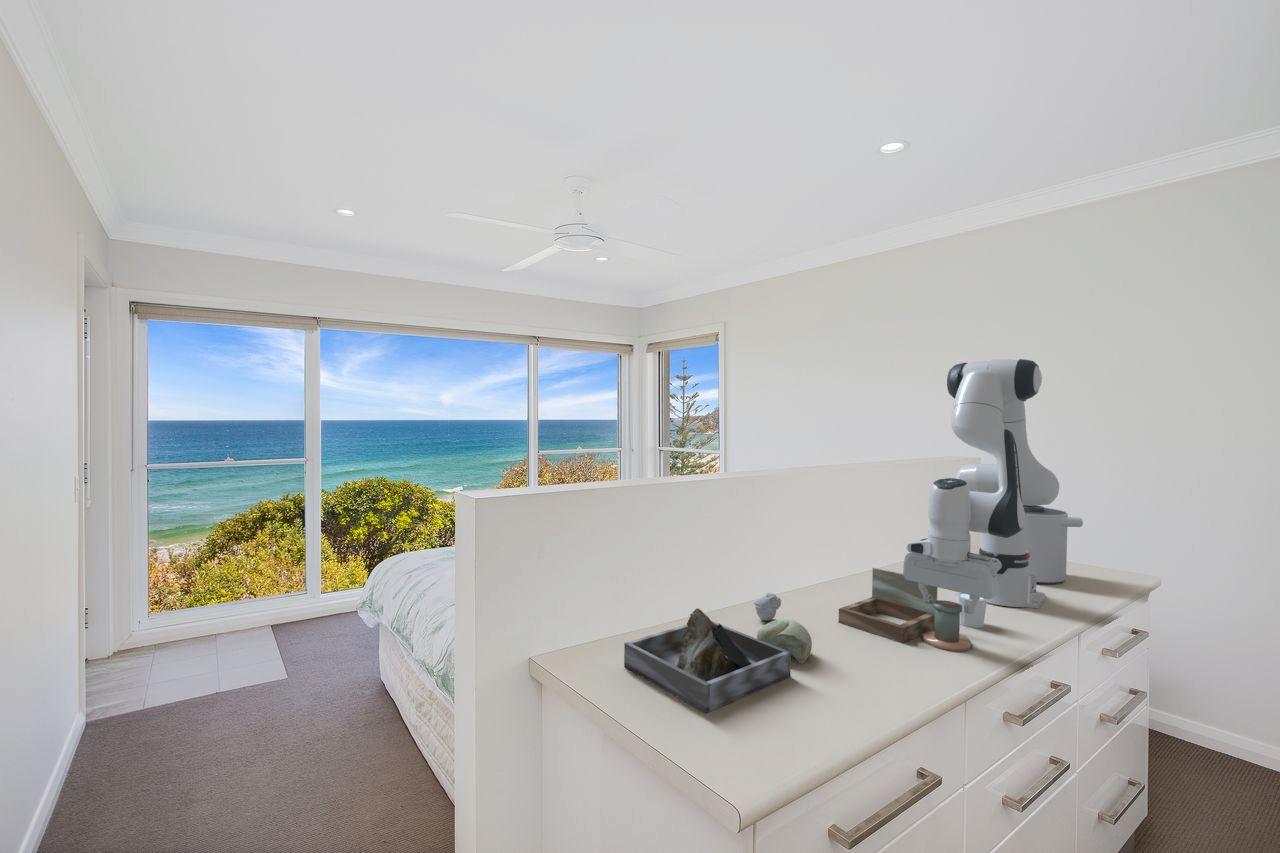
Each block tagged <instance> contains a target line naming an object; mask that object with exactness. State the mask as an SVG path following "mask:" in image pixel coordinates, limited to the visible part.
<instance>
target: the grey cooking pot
mask: <svg viewBox="0 0 1280 853" xmlns="http://www.w3.org/2000/svg"><path fill="white" fill-rule="evenodd" d="M1023 508H1024V513H1025V522H1024V526H1025V528H1026V552H1030V557H1029V559H1028V564H1029V565H1028V568H1029V569H1030V570H1031V571H1032V573H1033V574H1034V575H1035V576H1036V585H1061V584H1063V583H1065V582H1066V580H1067V554H1068V552H1067V551H1068V550H1067V549H1068V528H1081V527H1083V524H1084V521H1083V518H1082V517H1078V516H1077V517H1076V516H1073V517H1072V516H1068V515H1069V513H1068V512H1067V511H1065V510H1062V509H1058V508H1053V507H1045V506H1043V505H1034V506H1028V505H1023Z"/></svg>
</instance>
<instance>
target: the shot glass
mask: <svg viewBox="0 0 1280 853" xmlns="http://www.w3.org/2000/svg"><path fill="white" fill-rule="evenodd" d="M955 596H956V599H955V600H956V603H958V604H960V605H962V612H960V626H961V625H962V626H964V627H969V628H976V629H977V628H979V629H980V628H983V627H984V625H985V617H986V609H987V603H988V602H987V599H985V598H981V597H980V599H979V601H978V602H977V603H976V605H975V606H974V613H973V614H968V613H965V612H964V610H965V609H964V605H966V604H970V603H971V601H972V600H970V599H969V594H964V593H960V592H957V593H956V595H955Z"/></svg>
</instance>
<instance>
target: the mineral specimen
mask: <svg viewBox="0 0 1280 853" xmlns="http://www.w3.org/2000/svg"><path fill="white" fill-rule="evenodd" d="M688 618H689V619H688V620H687V622H686V625H687V626H688V629H687V631H688V633H687V634H686V638H685V643H684V644H683V647H682V648H683V651H682V652H681V655H680V656H679V661H678V664H677V666H676V667H678V668H680V669H682V670H684V671H686V672H688V673H690V674H692V675H694V676H696V677H697V678H699V679H701V680H703V681H705V682H707V681H710V680H712V679H715V678H718V677H720V676H723V675H725V674H728V673H731V672H733V671H736V670H738V669H741V668H743V667H746V666H749V665H751V664H752V663H751V662H750V661H749V660H748V659H747V657H746V656H745V655H744V654H743V652H742V651H741V650H739V649H738V647H737V646H736V645H735V644H734V643H733V641H732V640H731V639H730V637H729V636H728V635H727V633H726V631H725V629H724V628H723V627H722V625H723V624H721V623H720V622H719V623H718V624H719V625H718V626H716V625H715V624H714V623H713V622H714V621H713V622H712V620H711V618H710V617H709V616H708V615H707V614H705V613H704V612H703V611H702V609H700V608H695V610H693V611H692V613H690V614H689V617H688Z"/></svg>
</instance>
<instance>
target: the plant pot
mask: <svg viewBox="0 0 1280 853" xmlns="http://www.w3.org/2000/svg"><path fill="white" fill-rule="evenodd" d="M933 608H934V609H935V624H934V629H933V630H934V637H935V638H936V639H938V640H940V641H944V642H950V643H956V642H959V635H960V628H961V624H960V612H962V605H960V604H958V603H957V602H955V601H952V600H951V601H950V600H943V599H942V600H941V599H940V600H938V599H937V601H934V602H933Z"/></svg>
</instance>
